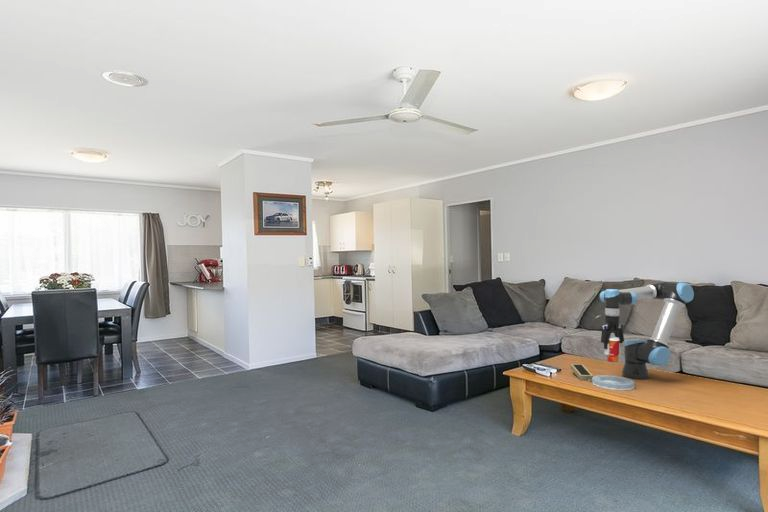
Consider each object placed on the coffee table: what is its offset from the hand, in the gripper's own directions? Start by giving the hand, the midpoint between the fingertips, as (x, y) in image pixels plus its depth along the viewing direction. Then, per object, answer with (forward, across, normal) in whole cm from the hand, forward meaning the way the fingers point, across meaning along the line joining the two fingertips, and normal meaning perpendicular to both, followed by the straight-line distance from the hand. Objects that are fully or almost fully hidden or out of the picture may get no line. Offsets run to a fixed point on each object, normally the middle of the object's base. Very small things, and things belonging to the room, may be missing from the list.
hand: (612, 354), depth 257 cm
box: (+18, -4, +20) cm, 28 cm away
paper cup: (+4, 0, 0) cm, 4 cm away
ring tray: (+18, 0, 0) cm, 18 cm away
